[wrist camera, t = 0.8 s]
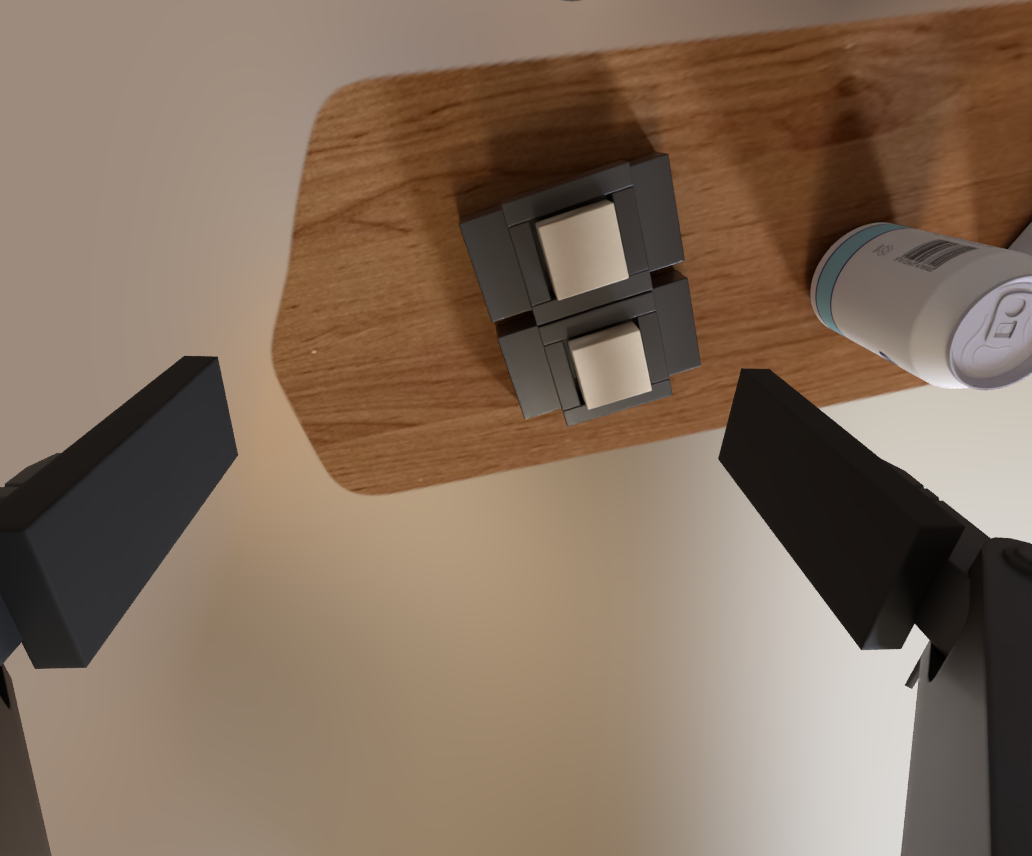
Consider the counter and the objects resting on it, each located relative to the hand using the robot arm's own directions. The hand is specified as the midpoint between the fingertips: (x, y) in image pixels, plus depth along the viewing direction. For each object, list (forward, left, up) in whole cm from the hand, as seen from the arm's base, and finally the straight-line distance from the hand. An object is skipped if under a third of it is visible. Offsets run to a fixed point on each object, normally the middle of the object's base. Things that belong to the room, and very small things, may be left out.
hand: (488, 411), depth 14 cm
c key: (-6, +1, -19) cm, 20 cm away
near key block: (-6, +1, -22) cm, 23 cm away
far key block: (-6, +8, -22) cm, 24 cm away
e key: (-6, +8, -19) cm, 21 cm away
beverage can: (-23, +9, -22) cm, 33 cm away
